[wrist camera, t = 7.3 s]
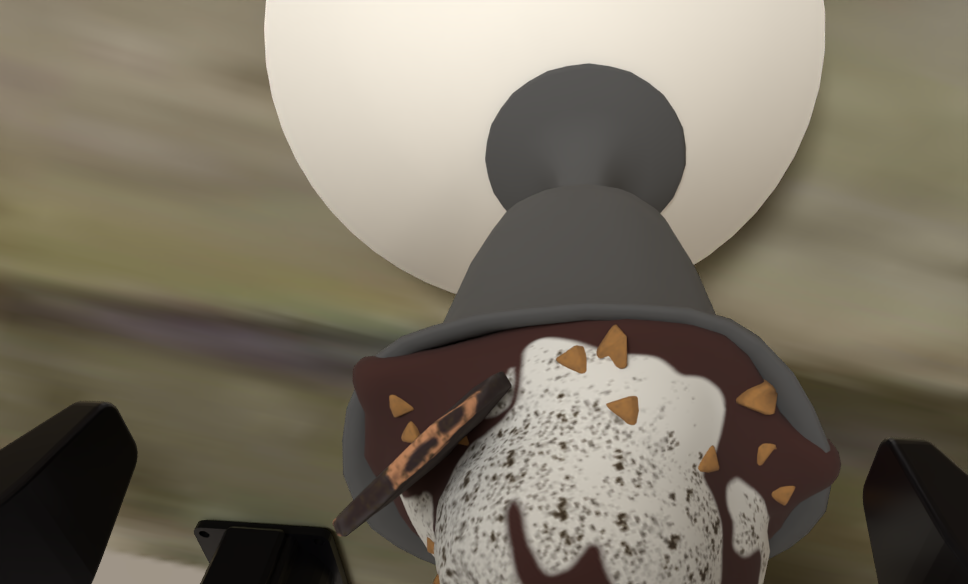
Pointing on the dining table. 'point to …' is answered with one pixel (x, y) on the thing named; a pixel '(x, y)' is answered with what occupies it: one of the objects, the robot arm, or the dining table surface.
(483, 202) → the stand
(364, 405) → the sundae
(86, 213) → the dining table surface
